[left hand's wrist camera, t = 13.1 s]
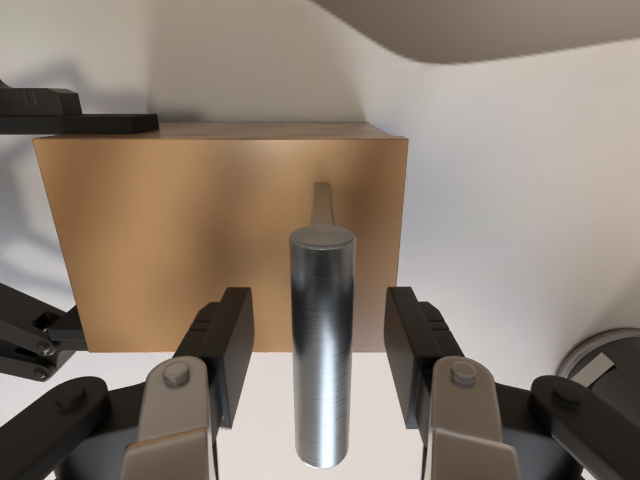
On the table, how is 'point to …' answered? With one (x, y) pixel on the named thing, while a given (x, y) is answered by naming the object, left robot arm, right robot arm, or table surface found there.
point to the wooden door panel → (236, 249)
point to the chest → (256, 129)
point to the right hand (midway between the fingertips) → (164, 232)
